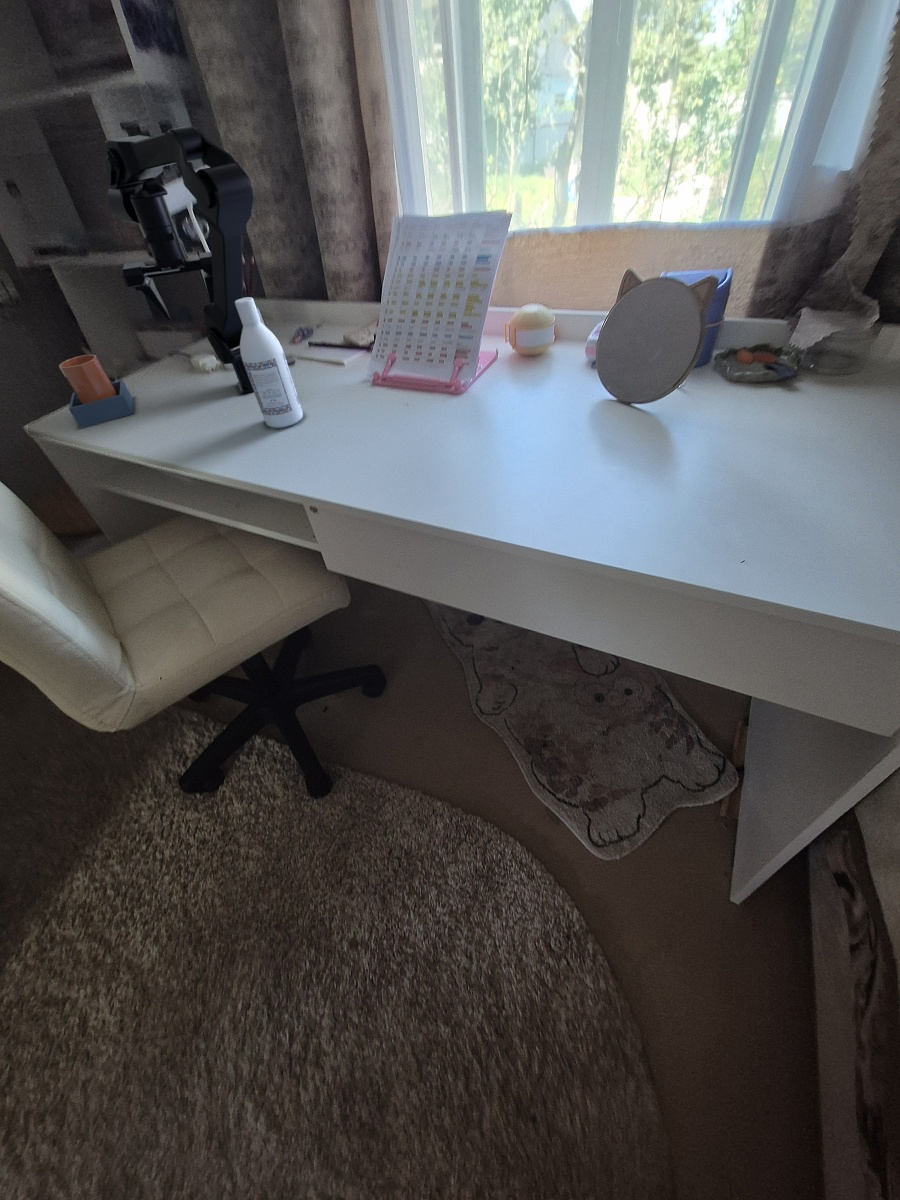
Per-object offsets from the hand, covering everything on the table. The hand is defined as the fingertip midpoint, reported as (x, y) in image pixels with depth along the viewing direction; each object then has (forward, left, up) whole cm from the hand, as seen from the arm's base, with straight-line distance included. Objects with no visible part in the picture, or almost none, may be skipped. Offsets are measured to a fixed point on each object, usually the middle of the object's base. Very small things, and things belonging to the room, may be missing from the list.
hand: (192, 315), depth 110 cm
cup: (-5, +23, -12) cm, 27 cm away
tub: (-5, +23, -13) cm, 27 cm away
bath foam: (-35, -9, -13) cm, 38 cm away
